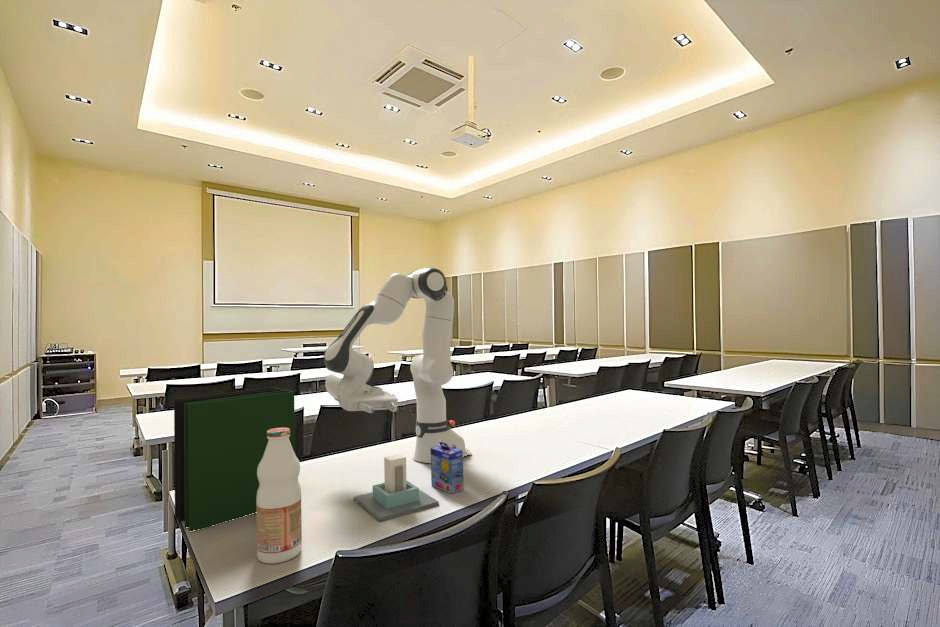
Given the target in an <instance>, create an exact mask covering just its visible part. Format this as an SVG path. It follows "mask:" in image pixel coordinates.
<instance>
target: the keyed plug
mask: <svg viewBox="0 0 940 627" xmlns="http://www.w3.org/2000/svg"><path fill="white" fill-rule="evenodd" d="M383 458H384V459H383V461H384V462H383V465H384V470H383V471H384V478H383V479H384V483H385V491H386V492H387V493H389V494H390V493H394V492H398V491H402V490H406V489H407V483H406V480H407V456H404V455H402V454H401V453H398V454H393V455H389V456H384V457H383Z"/></svg>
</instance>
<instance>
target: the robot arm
mask: <svg viewBox="0 0 940 627" xmlns="http://www.w3.org/2000/svg"><path fill="white" fill-rule="evenodd" d="M411 298H413V299H424V302H425V313H424V319H423V324H422V325H423V326H422V330H421V331H422V332H421V340H422V341H421V342H422V352H423V354H419V355H417V356H415V357H414V358H413V359H412V361H411V362H410V373H411V375H412V380H413V381H412V382H413V387H414V391H415V398H416V399H415V400H416V421H415V435H416V441H415V448H414V453H413V457H412V458H413V460H414V461H416V462H419V463H426V464H427V463H428V464H431V448H432V447H435V446H439V445H440V443H439V442H443V443H447V445H448V446H450V447H452V448H456V449H460V450H462V454H463V457H464V456H467V455H470V454H471V455H472V451H471V450H470V449H468V448H467V447H466V442H465V440H464V438H463V437H462V436H461V435H460V434H458V432H456V431H454V430H453V429H452V428H451V427H455V425H456V422H455V420H452V419H450V420H449V419H447V401H446V400H447V399H446V397H445V394H444V391H443V385H446V384H447V383H449V382H450V381H451V380H452V378H453V375H454V367H453V365H452V362H451V360H452V358H451V337H452V330H453V324H454V315H455V299H454V296H453V295H452V293H450V292H449V290H448V285H447V279H446V276H445V274H444V273H443V271H441V269H438V268H436V267H428V268H427V267H426V268H420V269H417V270H415V271H413V272H410V273H408V274H407V275H406V274H404V273H399V272H394V273H393V274H391V275H390V276H389V277H388V278H387V279H386V281H385V282H384V283H383V284H382V286H381V288H380V289H379V291H378V293H377V295H376V296H375V297H374V299H373V300H372V301H371V302H370V303H366V304H364V305H363V306H361V307H360V308H359V309H358V310H357V312H356V313H355V314H354V315H353V316H352V318H351V319H350V321H349V322H348V324H347V325H346V326H345V327H344V329H343V330H342V332H341V333H340V334H339V335H338V336H337V338H336V339H335V340H334V341H333V342H332V343H331V344H330V345H328V347H327V349H326V350H325V351H324V355H323V361H324V364H325V368H326V369H327V370H328V371H331V372H332V373H330V374H329V375H327V377H326V379H325V382H324V383H325V384H324V386H325V390H326V391H327V393H328V394H329V396H331V397H332V398H333V399H334V401H336V402H338V405H339V407H341V408H342V409H343V410H345V411H348V412H358V411H359V412H361V411H362V412H366V413H368V414H373V413H374V412H375V411H378V410H379V411H381V410H389V412H392V413H393V412H397V410H398V400H399V399H398V398H397V396H395V395H393V394H391V393H389V392H388V391H385V390H383V388H382V387H380V386H374V385H369V384H367V383H368V381H370V379H371V378H372V375H373V373H374V366H375V365H374V364H375V363H374V361H373V358H371V357H370V356H369V355H366V354H364V353H363V352H361V351H358V350H357V349H355V348H353V346H354V344H355V343H356V341H357V339H358V338H359V337H360V336H361V334H362V333H363V331H364V330H365V329H366V328H367V327H368V326H371V325H381V326H382V325H383V326H385V325H388V326H389V325H392V324H394V323H396V322H397V321H398V320H399V319H400V318H401V316H402V315H403V313H404V311H405V309H406V307H407V304H408V302H409V301H410V299H411ZM442 445H444V444H442ZM471 455H470V456H471ZM467 457H468V456H467ZM464 458H465V457H464Z"/></svg>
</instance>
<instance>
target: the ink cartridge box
mask: <svg viewBox="0 0 940 627" xmlns="http://www.w3.org/2000/svg"><path fill="white" fill-rule="evenodd" d="M439 443H440V445H439V446H435V447H432V448H431V463H430V474H431V478H430V480H431V483H430V484H431V487H434V488H436V487H437V488H436V489H439V490H442V491H443V490H444V491H443V492H446V493H448V492H449V494H455V493H457V492H460V491H462V489H463V490H464V489H465V486H464V484H465V482H464V460H463V459H464V458H463V454H462V450H460V449H456V448H452V447H450V446H448V445H447V443H443V442H439ZM442 444H444V445H442ZM459 490H460V491H459Z"/></svg>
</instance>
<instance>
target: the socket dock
mask: <svg viewBox="0 0 940 627" xmlns="http://www.w3.org/2000/svg"><path fill="white" fill-rule="evenodd" d="M406 483H407V489H406V490H402V491H398V492H394V493H390V494H389V493H387V492H386V491H385V482H383V483H382V482H381V483H377V484H374V485H372V491H371V492H367V493H364V494H358V495H356V496H354V497H353V500H354V501H355V502H356V501H357V502H358V503H359V504H360V505H361V506H360V505H359V504H358V503H357V502H356V503H357V504H358V505H359V506H360V507H362V508H363V510H365V509H366V510H367V511H368V513H369V515H371V516H372V517H373V518H374V519H376V520H377V521H378V522H383V521H386V520H387V521H388V520H390V519H394V518H398V517H401V516H404V515H407V514H412V513H415V512H419V511H422V510H426V509H429V508H434V507H437V506H439V504H440V502H439V501H438V500H437V499H435V498H434V497H432V496H431V495H429V494H428V493H425V492H424V491H422V490H421V489H420V487H419V486H416V485H415V484H413V483H412V482H410V481H408V480H407V479H406ZM366 510H365V511H366ZM367 511H366V512H367Z"/></svg>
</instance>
